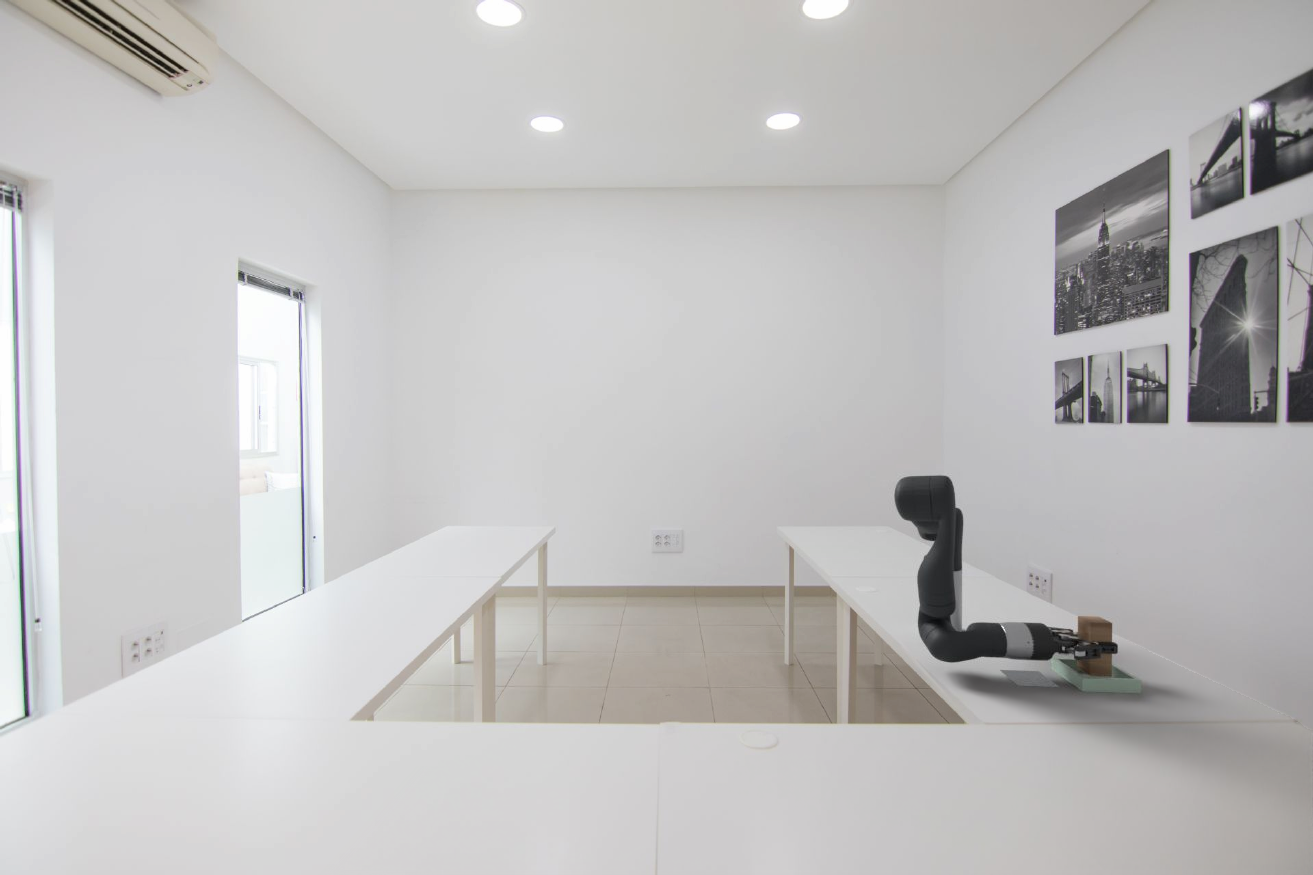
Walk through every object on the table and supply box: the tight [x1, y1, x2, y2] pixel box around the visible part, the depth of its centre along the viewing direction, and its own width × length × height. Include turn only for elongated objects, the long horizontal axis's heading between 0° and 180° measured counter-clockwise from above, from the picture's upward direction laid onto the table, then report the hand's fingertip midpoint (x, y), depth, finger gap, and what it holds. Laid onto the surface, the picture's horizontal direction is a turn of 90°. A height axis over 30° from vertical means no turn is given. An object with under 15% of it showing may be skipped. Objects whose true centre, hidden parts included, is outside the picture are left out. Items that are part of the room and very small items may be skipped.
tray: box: [1050, 657, 1142, 694], centre depth 124 cm, size 11×11×4 cm
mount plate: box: [999, 669, 1060, 688], centre depth 125 cm, size 8×8×1 cm
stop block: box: [1077, 615, 1113, 678], centre depth 124 cm, size 4×4×11 cm
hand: (1108, 643), depth 124 cm, fingers closed on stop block, 4 cm apart
